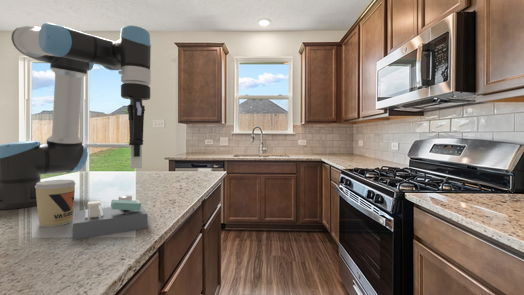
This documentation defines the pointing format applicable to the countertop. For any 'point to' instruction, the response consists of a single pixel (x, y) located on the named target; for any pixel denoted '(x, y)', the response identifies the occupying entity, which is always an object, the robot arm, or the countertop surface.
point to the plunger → (125, 198)
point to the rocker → (125, 205)
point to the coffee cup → (55, 202)
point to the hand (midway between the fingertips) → (136, 168)
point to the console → (108, 222)
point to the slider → (94, 208)
